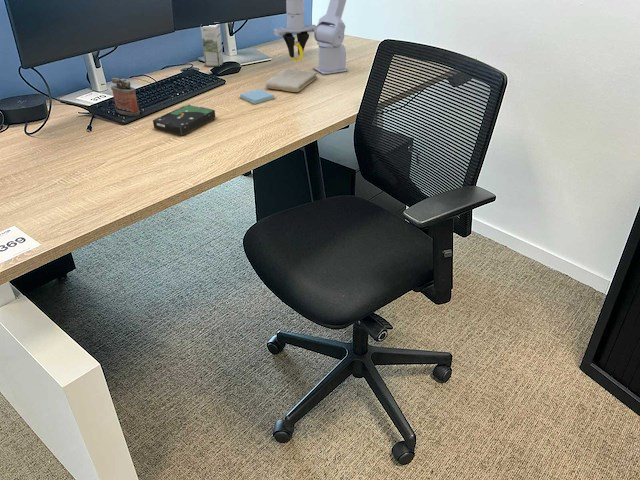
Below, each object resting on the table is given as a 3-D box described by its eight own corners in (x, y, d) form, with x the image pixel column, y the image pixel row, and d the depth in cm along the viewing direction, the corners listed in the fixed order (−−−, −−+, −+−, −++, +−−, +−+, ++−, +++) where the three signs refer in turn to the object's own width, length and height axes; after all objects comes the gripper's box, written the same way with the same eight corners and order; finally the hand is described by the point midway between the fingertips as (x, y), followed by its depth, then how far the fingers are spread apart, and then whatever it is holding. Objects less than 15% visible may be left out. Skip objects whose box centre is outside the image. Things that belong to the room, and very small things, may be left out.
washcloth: (318, 78, 186) (318, 69, 184) (298, 94, 172) (298, 84, 170) (287, 74, 189) (286, 65, 188) (265, 89, 175) (264, 80, 174)
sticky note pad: (259, 92, 173) (259, 88, 173) (274, 98, 169) (273, 94, 168) (240, 97, 169) (240, 94, 168) (254, 104, 164) (254, 100, 164)
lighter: (142, 112, 158) (136, 79, 152) (134, 116, 155) (128, 82, 149) (121, 108, 160) (114, 75, 155) (113, 112, 158) (106, 78, 152)
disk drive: (182, 137, 144) (216, 118, 154) (181, 127, 142) (215, 109, 153) (153, 129, 148) (188, 112, 158) (151, 120, 146) (187, 102, 157)
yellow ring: (286, 59, 180) (286, 41, 177) (293, 57, 182) (292, 39, 179) (298, 63, 177) (298, 44, 173) (304, 61, 178) (304, 43, 175)
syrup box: (223, 62, 201) (220, 22, 193) (219, 67, 196) (215, 25, 188) (209, 62, 201) (204, 21, 193) (204, 66, 196) (199, 25, 188)
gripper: (310, 8, 176) (310, 50, 184) (269, 12, 171) (271, 55, 179) (319, 12, 171) (319, 55, 179) (278, 16, 166) (279, 61, 173)
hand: (296, 56), depth 178 cm, fingers closed on yellow ring, 2 cm apart
